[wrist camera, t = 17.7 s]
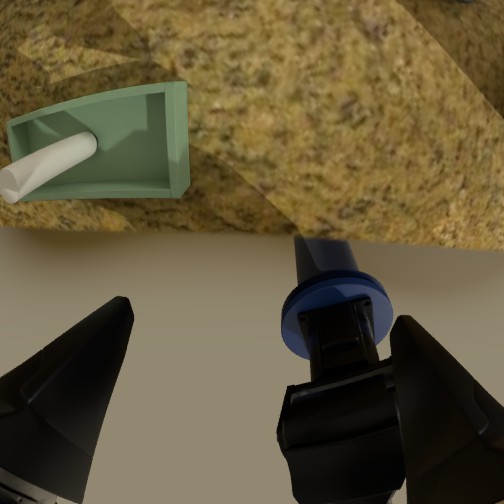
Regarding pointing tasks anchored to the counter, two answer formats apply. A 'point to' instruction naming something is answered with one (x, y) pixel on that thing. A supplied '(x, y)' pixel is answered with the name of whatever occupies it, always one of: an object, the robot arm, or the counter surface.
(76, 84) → the counter surface
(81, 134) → the stylus
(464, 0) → the tablet
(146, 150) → the tray
